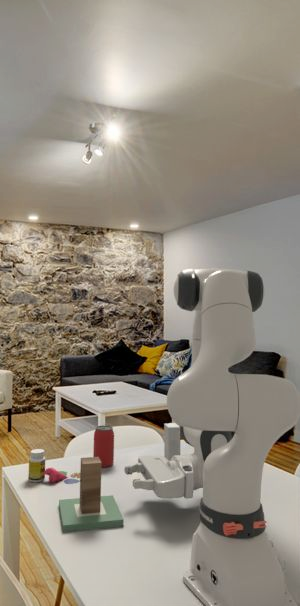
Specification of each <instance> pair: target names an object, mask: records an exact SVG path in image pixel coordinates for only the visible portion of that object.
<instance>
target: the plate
mask: <svg viewBox="0 0 300 606" xmlns="http://www.w3.org/2000/svg"><path fill="white" fill-rule="evenodd" d="M58 508H59V514H60V520H61V528H62V529H61V530H62V533H65V532H67V533H68V532H76V531H77V532H78V531H85V530H86V531H88V530H96V529H104V528H116V527H124V520H125V519H124V517H123V516H122V512H121V511H120V508H119V506H118V504H117V502H116V499H115V497H114V495H101V503H100V512H99V513H88V514H81V510H80V497H79V498H78V497H77V498H67V499H66V498H64V499H58Z"/></svg>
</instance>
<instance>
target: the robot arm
mask: <svg viewBox="0 0 300 606" xmlns="http://www.w3.org/2000/svg"><path fill="white" fill-rule="evenodd" d="M173 296H174V299H175V301H176V305H177V306H178V307H179V308H180V309H182V310H185V311H188V312H193V311H194V316H193V325H192V336H191V337H192V338H191V340H192V341H191V364H190V367H189V368H188V369H186V370H185V371H184V372H183V373H181V374H180V375H179V376H177V377H175V379H174V380H173V381H172V383H171V384H170V386H169V388H168V391H167V396H166V406H167V411H168V414H169V415H170V417H171V419H172V421H173V423H176V424H177V425H178V426H179V427H180V437H181V438H182V440H183V441H184V442H185V443H186V444H188V445H190V446H191V447H192V448H194V451H193V453H191V454H180V455H174V456H172V458H171V461H170V460H167V459H166V458H165V457H164V456H162V455H141V456H139V457H138V460H137V462H136V463H134V464H131V465H125V466H124V473H125V474H126V475H127V476H128V475H132V474H134V473H137V474H139V473H140V474H141V475H142V477H143V478H144V479H140V478H136V479H135V478H134V479H132V487H133V489H135V490H137V489H141V490H146V491H153V493H154V494H155V496H156V497H157V498H160V499H177V498H178V499H180V498H185V499H192V498H194V491H197V490H199V489H202V496H201V498H200V504H199V520H200V523H199V525H198V527H197V528H196V530H195V531H194V533H193V534H192V539H191V540H192V542H191V551H190V562H189V563H190V564H189V568H188V569H187V570H186V571H184V573H183V575H182V582H183V583H184V584H185V585H186V586H187V587H188V589H190V590H191V592H192V593H194V596H196V597H197V598H198V599H199V600H200V601H201V602H202V603H203V605H204V606H205V605H206V606H298V604H297V602H296V601H295V599H294V598H293V595H292V594H291V593H290V592H291V591H290V590H289V588H288V587H287V585H286V580H285V574H284V572H285V571H286V567H287V566H286V562H285V561H286V560H285V558H284V557H282V556H277V553H276V552H275V549H274V542H273V540H270V539H269V537H268V534H267V532H266V528H267V525H266V523H267V521H266V520H265V512H264V508H263V504H262V503H261V493H262V480H263V471H264V466H265V461H266V459H267V457H268V454H269V453H270V451H271V449H272V448H273V446H274V444H275V443H276V442H277V441H278V440H279V439H280V438H281V437H282V436H283V435H284V434H286V432H288V431H289V430H291V429H292V428H294V426H295V425H296V424H297V423H298V421H299V420H300V419H299V418H300V391H299V390H298V387H296V385H295V384H294V382H292V381H291V380H290V379H288V378H283V377H280V376H275V375H269V374H258V373H257V374H256V373H255V374H253V373H252V374H251V373H234V372H233V373H232V372H230V371H229V368H230V367H232V366H234V365H236V364H239V363H241V362H243V361H245V360H246V359H247V358H248V357H250V356H251V355H252V353H253V352H254V350H255V349H256V340H257V339H256V332H255V323H254V314H253V313H255V312H256V311H258V310H259V309H260V308H261V307H262V304H263V301H264V298H265V285H264V282H263V278H262V277H261V275H260V274H259V273H258V272H254V271H252V270H239V269H230V268H220V267H219V268H218V267H212V268H211V267H209V268H197V269H194V267H193V268H187V269H184V270H181V271H180V272H179V273H178V274H177V277H176V279H175V281H174V285H173ZM232 432H233V433H234V435H232Z"/></svg>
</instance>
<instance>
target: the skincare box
mask: <svg viewBox="0 0 300 606" xmlns="http://www.w3.org/2000/svg"><path fill="white" fill-rule="evenodd" d="M163 425H164V426H163V432H164V433H163V436H164V437H163V439H164V440H163V443H164V452H163V453H164V456H163V457H165V458H166V459H167V460H170V461H171V458H172V456H174V455H181V433H180V426H179V425H177V424H176V423H175V422H169V423H167V422H166V423H163Z"/></svg>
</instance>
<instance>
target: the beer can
mask: <svg viewBox="0 0 300 606" xmlns="http://www.w3.org/2000/svg"><path fill="white" fill-rule="evenodd" d="M93 433H94V434H93V455H92V457H99V458H100V461H101V468H109V467H111V466H113V464H114V460H115V459H114V458H115V455H114V454H115V452H114V451H115V432H114V428H113V427H112V425H111V426H110V425H97V426H96V427H95V430H94V432H93Z"/></svg>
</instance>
